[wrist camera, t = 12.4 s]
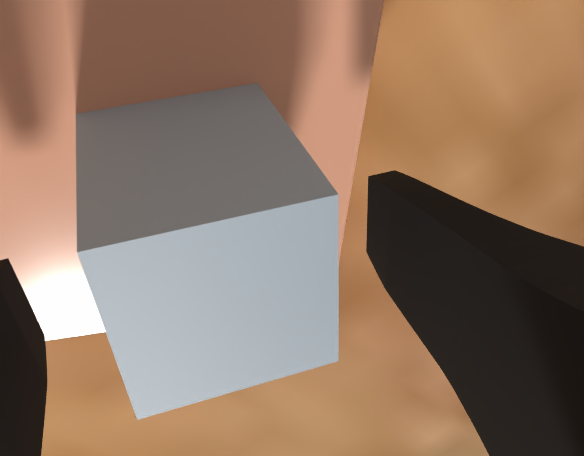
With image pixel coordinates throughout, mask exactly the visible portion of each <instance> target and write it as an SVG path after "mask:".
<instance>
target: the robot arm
mask: <svg viewBox="0 0 584 456" xmlns="http://www.w3.org/2000/svg"><path fill="white" fill-rule="evenodd" d="M367 254H368V256H369V258H370V260H371V262H372V264H373V266H374V268H375V270H376V272H377V274H378V276H379V278H380V280H381V282H382V284H383V285H384V287H385V289H386V291H387V292H388V294H389V295H390V297H391V298H392V299H393V301H394V302H395V304H396V305H397V307H398V308H399V310H400V311H401V312H402V314H403V315H404V317H405V318H406V320H407V321H408V322H409V324H410V325H411V327H412V328H413V329H414V331H415V332H416V334H417V335H418V337H419V338H420V339H421V341H422V342H423V344H424V345H425V346H426V348H427V349H428V351H429V352H430V354H431V355H432V356H433V358H434V359H435V361H436V362H437V363H438V365H439V366H440V368H441V369H442V371H443V373H444V374H445V376H446V377H447V379H448V380H449V382H450V383H451V385H452V387H453V389H454V391H455V392H456V394H457V396H458V398H459V400H460V401H461V403H462V405H463V407H464V409H465V410H466V412H467V414H468V416H469V418H470V419H471V421H472V423H473V425H474V427H475V429H476V431H477V433H478V434H479V436H480V438H481V440H482V442H483V444H484V446H485V448H486V450H487V452H488V454H489V455H490V456H584V247H583V246H580V245H577V244H573V243H570V242H567V241H564V240H561V239H558V238H554V237H551V236H548V235H545V234H542V233H539V232H537V231H534V230H531V229H528V228H526V227H523V226H521V225H518V224H515V223H513V222H510V221H508V220H505V219H503V218H500V217H498V216H495V215H493V214H491V213H488V212H486V211H484V210H481V209H479V208H477V207H475V206H472V205H470V204H468V203H466V202H464V201H462V200H459V199H457V198H455V197H453V196H451V195H449V194H447V193H444V192H442V191H440V190H438V189H436V188H434V187H432V186H430V185H427V184H425V183H423V182H421V181H419V180H417V179H415V178H412V177H410V176H408V175H405V174H403V173H400V172H398V171H395V170H394V171H390V172H386V173H381V174H377V175H372V176H368V213H367ZM46 393H47V362H46V346H45V334H44V332H43V330H42V328H41V326H40V324H39V322H38V320H37V318H36V315H35V313H34V311H33V309H32V307H31V305H30V303H29V301H28V299H27V297H26V294H25V292H24V290H23V288H22V286H21V284H20V282H19V280H18V278H17V276H16V273H15V271H14V269H13V267H12V265H11V263H10V261H9V259H8V258H7V259H3V260H0V456H41V449H42V438H43V428H44V416H45V405H46Z"/></svg>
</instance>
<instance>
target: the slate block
mask: <svg viewBox="0 0 584 456" xmlns="http://www.w3.org/2000/svg"><path fill="white" fill-rule="evenodd" d="M76 207H77V254H78V257H79V260H80V262H81V265H82V268H83V271H84V273H85V276H86V279H87V282H88V284H89V287H90V290H91V293H92V296H93V298H94V301H95V304H96V307H97V309H98V312H99V315H100V318H101V320H102V323H103V326H104V329H105V332H106V334H107V337H108V340H109V343H110V345H111V348H112V351H113V354H114V356H115V359H116V362H117V365H118V368H119V370H120V373H121V376H122V379H123V381H124V384H125V387H126V390H127V393H128V395H129V398H130V401H131V404H132V406H133V409H134V412H135V415H136V417H137V420H138V419H142V418H145V417H148V416H152V415H155V414H159V413H162V412H166V411H169V410H172V409H176V408H179V407H183V406H186V405H190V404H193V403H196V402H200V401H203V400H207V399H210V398H214V397H217V396H220V395H224V394H227V393H231V392H234V391H238V390H241V389H244V388H248V387H251V386H255V385H258V384H262V383H265V382H268V381H272V380H275V379H279V378H282V377H286V376H289V375H292V374H296V373H299V372H303V371H306V370H310V369H313V368H316V367H320V366H323V365H327V364H330V363H334V362H337V361H338V327H339V194H338V193H337V192H336V190H335V189H334V187H333V186H332V185H331V183H330V182H329V181H328V179H327V178H326V176H325V175H324V174H323V172H322V171H321V170H320V168H319V167H318V165H317V164H316V163H315V161H314V160H313V159H312V157H311V156H310V154H309V153H308V152H307V150H306V149H305V148H304V146H303V145H302V144H301V142H300V141H299V139H298V138H297V137H296V135H295V134H294V133H293V131H292V130H291V128H290V127H289V126H288V124H287V123H286V122H285V120H284V119H283V117H282V116H281V115H280V113H279V112H278V111H277V109H276V108H275V106H274V105H273V104H272V102H271V101H270V100H269V98H268V97H267V95H266V94H265V93H264V91H263V90H262V89H261V87H260V86H259V85H258V83H254V84H248V85H242V86H236V87H231V88H225V89H219V90H213V91H207V92H201V93H195V94H189V95H183V96H177V97H171V98H166V99H160V100H154V101H148V102H142V103H136V104H130V105H124V106H118V107H112V108H106V109H101V110H95V111H89V112H83V113H77V114H76Z"/></svg>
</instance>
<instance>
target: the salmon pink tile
mask: <svg viewBox="0 0 584 456" xmlns="http://www.w3.org/2000/svg"><path fill="white" fill-rule="evenodd" d="M383 2H384V0H0V260H3V259H7V258H8V259H9V261H10V263H11V265H12V267H13V269H14V271H15V273H16V276H17V278H18V280H19V282H20V284H21V286H22V288H23V290H24V292H25V294H26V297H27V299H28V301H29V303H30V305H31V307H32V309H33V311H34V313H35V315H36V318H37V320H38V322H39V324H40V326H41V328H42V330H43V332H44V334H45V341H46V340H52V339H59V338H66V337H72V336H79V335H86V334H92V333H99V332H105V329H104V326H103V323H102V320H101V318H100V315H99V312H98V309H97V307H96V304H95V301H94V298H93V296H92V293H91V290H90V287H89V284H88V282H87V279H86V276H85V273H84V271H83V268H82V265H81V262H80V260H79V257H78V254H77V207H76V114H77V113H83V112H89V111H95V110H101V109H106V108H112V107H118V106H124V105H130V104H136V103H142V102H148V101H154V100H160V99H166V98H171V97H177V96H183V95H189V94H195V93H201V92H207V91H213V90H219V89H225V88H231V87H236V86H242V85H248V84H254V83H258V85H259V86H260V87H261V89H262V90H263V91H264V93H265V94H266V95H267V97H268V98H269V100H270V101H271V102H272V104H273V105H274V106H275V108H276V109H277V111H278V112H279V113H280V115H281V116H282V117H283V119H284V120H285V122H286V123H287V124H288V126H289V127H290V128H291V130H292V131H293V133H294V134H295V135H296V137H297V138H298V139H299V141H300V142H301V144H302V145H303V146H304V148H305V149H306V150H307V152H308V153H309V154H310V156H311V157H312V159H313V160H314V161H315V163H316V164H317V165H318V167H319V168H320V170H321V171H322V172H323V174H324V175H325V176H326V178H327V179H328V181H329V182H330V183H331V185H332V186H333V187H334V189H335V190H336V192H337V193H338V194H339V258H340V253H341V247H342V241H343V235H344V229H345V223H346V218H347V212H348V206H349V200H350V194H351V188H352V183H353V177H354V171H355V165H356V159H357V153H358V148H359V142H360V136H361V130H362V124H363V119H364V113H365V107H366V101H367V95H368V89H369V84H370V78H371V72H372V66H373V60H374V54H375V49H376V43H377V37H378V31H379V25H380V19H381V14H382V8H383Z"/></svg>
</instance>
